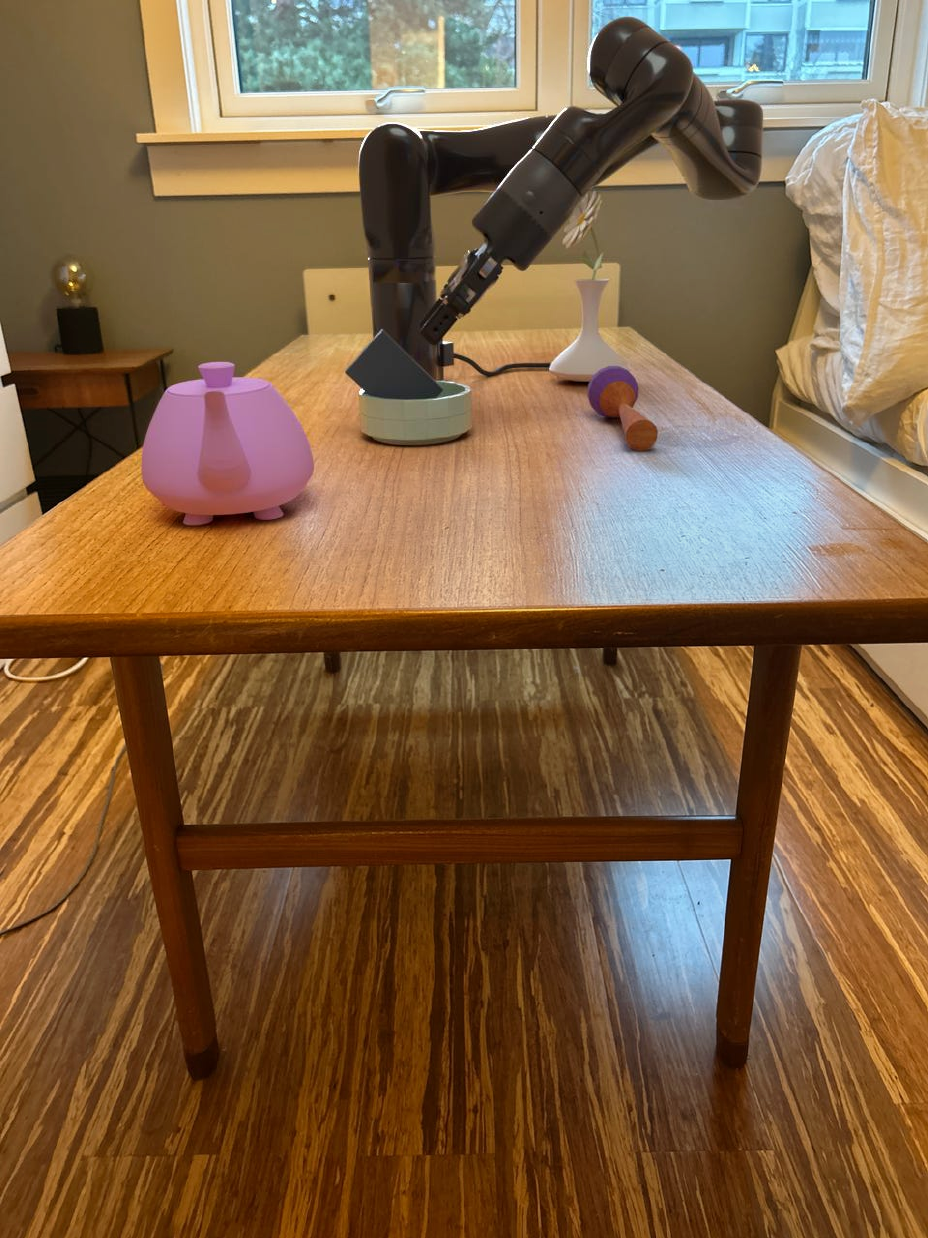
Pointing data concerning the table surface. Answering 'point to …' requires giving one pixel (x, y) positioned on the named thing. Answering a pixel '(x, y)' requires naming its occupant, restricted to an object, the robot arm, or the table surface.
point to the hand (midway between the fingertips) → (426, 335)
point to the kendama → (621, 405)
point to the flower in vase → (586, 307)
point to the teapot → (225, 448)
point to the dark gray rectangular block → (391, 372)
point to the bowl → (418, 416)
